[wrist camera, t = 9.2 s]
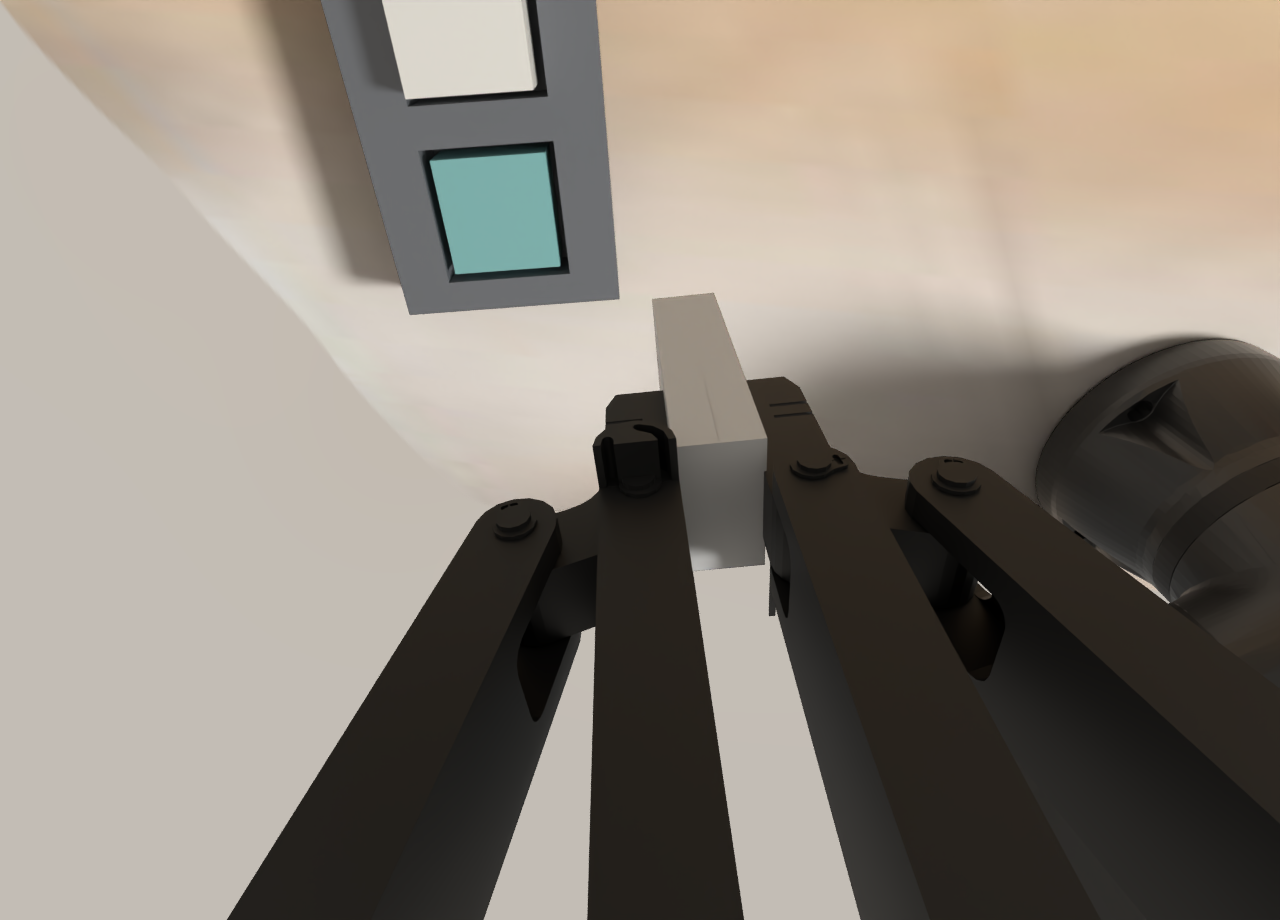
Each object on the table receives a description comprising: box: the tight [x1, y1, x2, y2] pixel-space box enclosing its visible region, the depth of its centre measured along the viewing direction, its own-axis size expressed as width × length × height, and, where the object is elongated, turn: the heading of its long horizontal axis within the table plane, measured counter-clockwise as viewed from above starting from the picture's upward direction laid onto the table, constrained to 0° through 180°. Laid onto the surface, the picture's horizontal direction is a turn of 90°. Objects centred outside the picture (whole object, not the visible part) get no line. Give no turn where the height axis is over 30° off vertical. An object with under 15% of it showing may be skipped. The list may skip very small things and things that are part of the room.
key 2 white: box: [382, 0, 538, 99], centre depth 24 cm, size 5×5×2 cm
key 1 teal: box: [430, 142, 562, 274], centre depth 29 cm, size 5×5×2 cm
